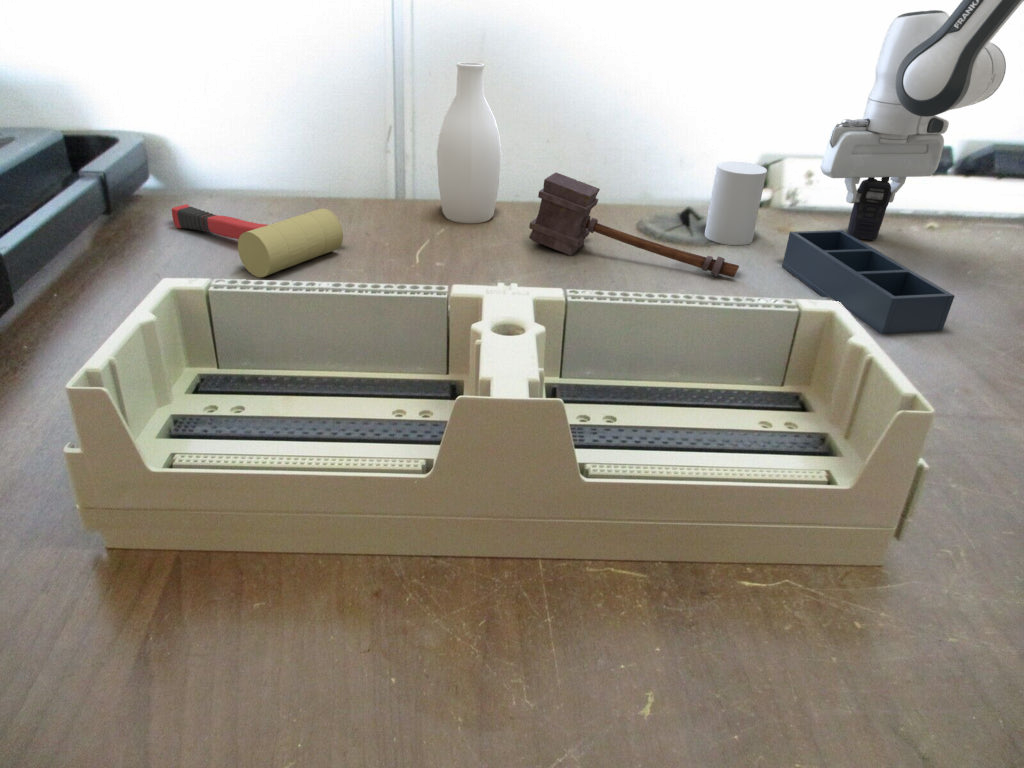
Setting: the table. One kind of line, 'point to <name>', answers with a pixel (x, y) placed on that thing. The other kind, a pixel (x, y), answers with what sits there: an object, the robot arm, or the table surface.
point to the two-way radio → (870, 208)
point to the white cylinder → (735, 202)
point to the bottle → (469, 151)
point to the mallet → (269, 237)
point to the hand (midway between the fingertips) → (869, 202)
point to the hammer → (596, 225)
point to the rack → (866, 282)
